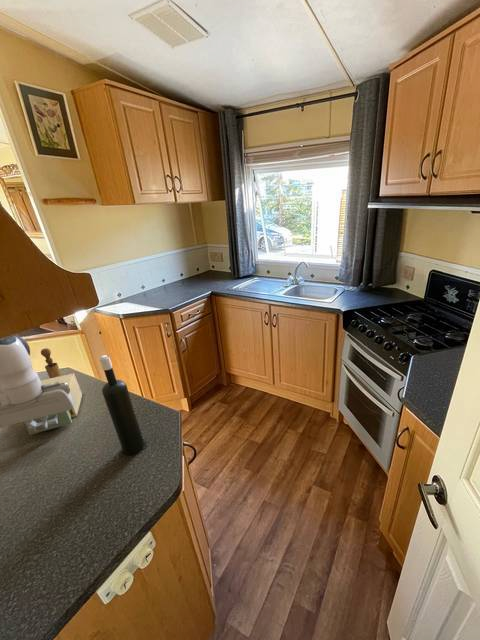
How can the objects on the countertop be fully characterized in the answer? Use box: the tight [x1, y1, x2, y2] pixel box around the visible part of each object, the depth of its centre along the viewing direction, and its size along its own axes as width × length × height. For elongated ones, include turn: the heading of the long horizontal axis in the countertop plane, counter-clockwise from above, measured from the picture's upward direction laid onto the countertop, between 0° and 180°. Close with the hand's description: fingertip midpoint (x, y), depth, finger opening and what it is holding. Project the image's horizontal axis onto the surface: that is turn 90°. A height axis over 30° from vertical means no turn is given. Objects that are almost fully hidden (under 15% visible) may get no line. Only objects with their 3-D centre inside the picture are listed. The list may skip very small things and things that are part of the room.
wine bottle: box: [98, 354, 145, 456], centre depth 78 cm, size 6×6×30 cm
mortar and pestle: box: [40, 347, 63, 379], centre depth 112 cm, size 7×6×18 cm
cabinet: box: [40, 372, 83, 418], centre depth 101 cm, size 15×13×10 cm
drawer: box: [23, 410, 73, 436], centre depth 95 cm, size 18×11×8 cm, turn 25°
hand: (41, 428), depth 87 cm, fingers closed
